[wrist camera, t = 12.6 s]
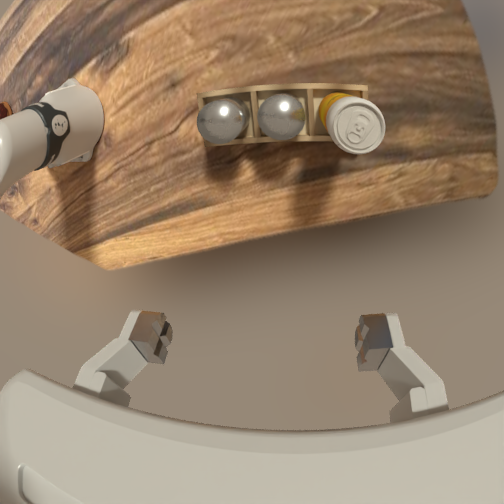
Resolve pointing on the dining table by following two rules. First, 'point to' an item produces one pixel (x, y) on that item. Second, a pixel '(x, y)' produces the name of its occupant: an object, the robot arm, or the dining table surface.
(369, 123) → the beer can
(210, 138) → the seated canisters
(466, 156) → the dining table surface
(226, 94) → the compartment tray
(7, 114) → the donut
